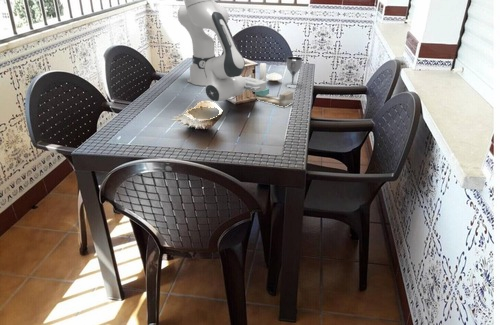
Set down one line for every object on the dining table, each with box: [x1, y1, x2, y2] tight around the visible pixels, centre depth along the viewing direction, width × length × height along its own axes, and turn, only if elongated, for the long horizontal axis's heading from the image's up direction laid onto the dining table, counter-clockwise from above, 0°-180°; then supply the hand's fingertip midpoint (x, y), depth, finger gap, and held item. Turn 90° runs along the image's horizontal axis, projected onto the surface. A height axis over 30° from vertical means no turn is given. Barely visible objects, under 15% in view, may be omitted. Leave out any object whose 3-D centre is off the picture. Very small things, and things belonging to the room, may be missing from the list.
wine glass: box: [286, 55, 303, 85], centre depth 212 cm, size 8×8×15 cm
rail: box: [255, 90, 295, 107], centre depth 192 cm, size 22×7×6 cm, turn 52°
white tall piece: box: [255, 62, 270, 96], centre depth 191 cm, size 5×5×14 cm
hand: (255, 78), depth 187 cm, fingers open, 8 cm apart
